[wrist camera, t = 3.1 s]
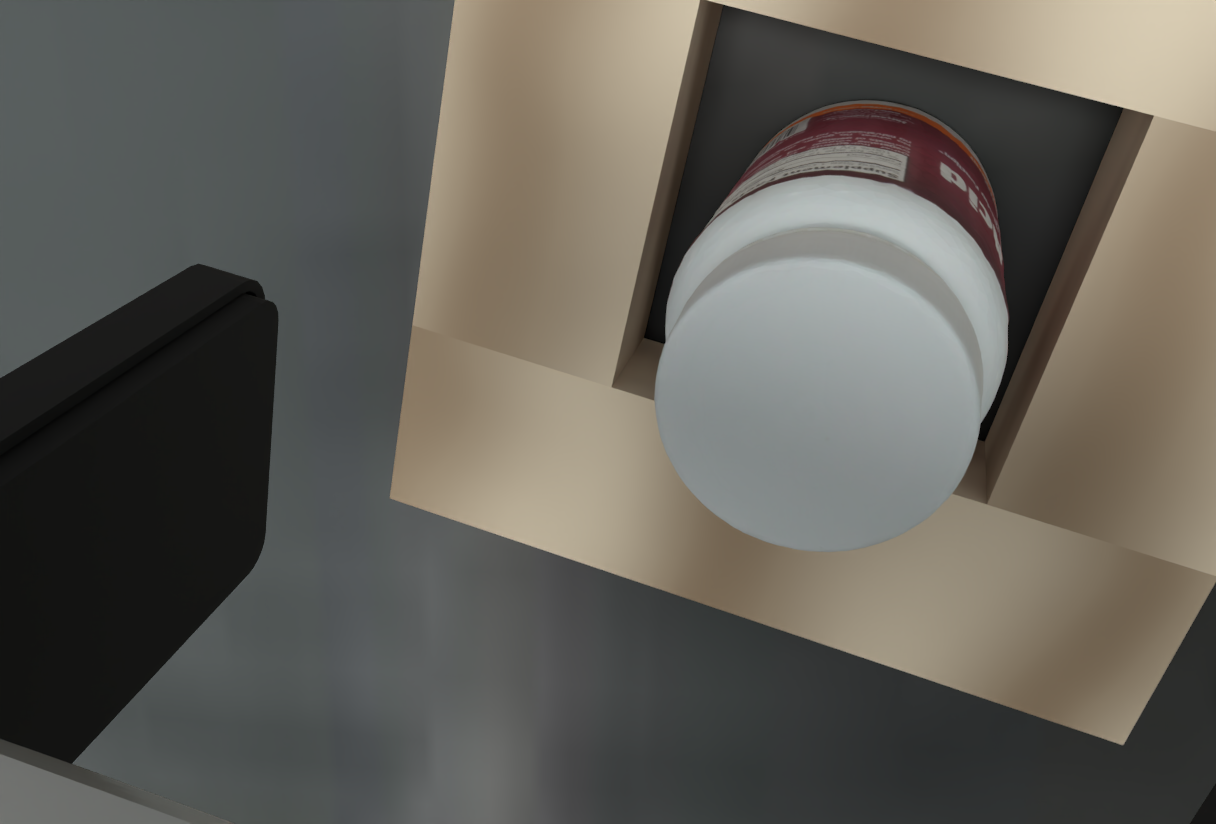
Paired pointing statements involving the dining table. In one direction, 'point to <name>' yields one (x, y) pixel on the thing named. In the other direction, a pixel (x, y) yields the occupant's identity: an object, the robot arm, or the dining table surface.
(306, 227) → the dining table surface
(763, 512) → the pill bottle
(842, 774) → the dining table surface
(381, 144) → the dining table surface
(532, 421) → the socket block
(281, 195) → the dining table surface
